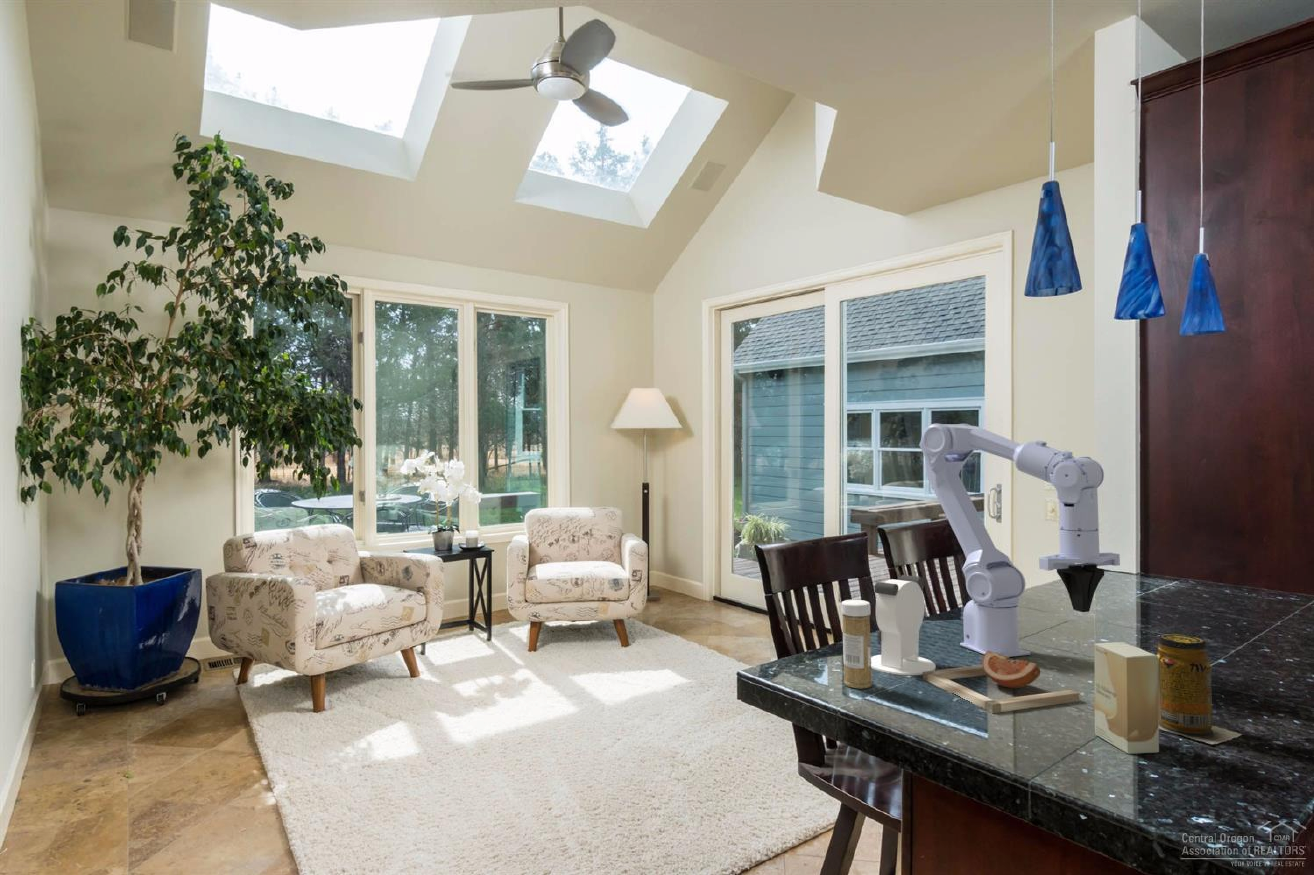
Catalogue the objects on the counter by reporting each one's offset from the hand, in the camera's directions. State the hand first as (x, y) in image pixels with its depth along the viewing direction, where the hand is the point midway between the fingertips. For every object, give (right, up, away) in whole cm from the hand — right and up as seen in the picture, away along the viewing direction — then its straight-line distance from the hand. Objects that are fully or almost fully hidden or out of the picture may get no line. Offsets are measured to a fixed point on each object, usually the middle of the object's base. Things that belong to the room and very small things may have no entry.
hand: (1081, 610), depth 120 cm
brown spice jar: (-39, -11, -4) cm, 40 cm away
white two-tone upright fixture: (-28, -11, +6) cm, 31 cm away
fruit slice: (-15, -11, -6) cm, 20 cm away
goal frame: (-17, -11, -7) cm, 21 cm away
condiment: (0, -10, -24) cm, 26 cm away
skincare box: (-11, -10, -28) cm, 32 cm away
